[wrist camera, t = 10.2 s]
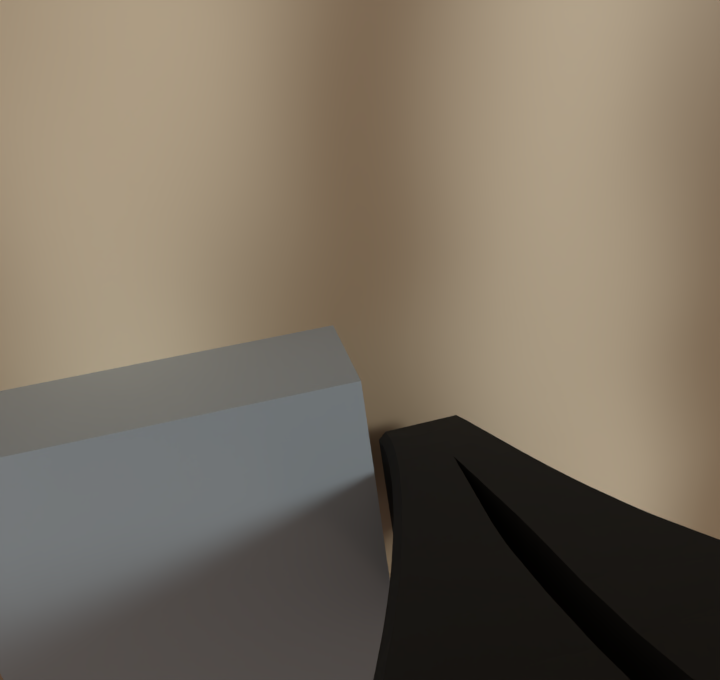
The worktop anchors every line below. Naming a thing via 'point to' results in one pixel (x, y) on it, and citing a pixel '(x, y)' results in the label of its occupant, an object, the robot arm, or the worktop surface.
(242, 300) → the birch board
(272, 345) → the slate tile
